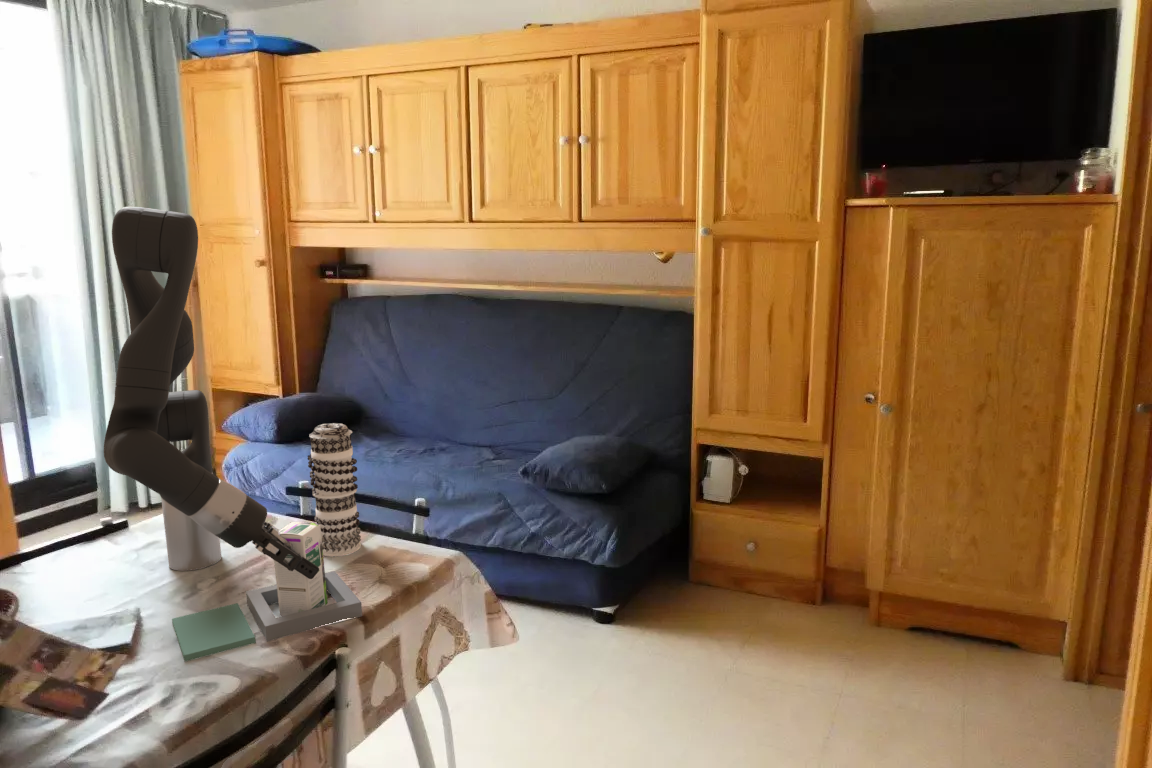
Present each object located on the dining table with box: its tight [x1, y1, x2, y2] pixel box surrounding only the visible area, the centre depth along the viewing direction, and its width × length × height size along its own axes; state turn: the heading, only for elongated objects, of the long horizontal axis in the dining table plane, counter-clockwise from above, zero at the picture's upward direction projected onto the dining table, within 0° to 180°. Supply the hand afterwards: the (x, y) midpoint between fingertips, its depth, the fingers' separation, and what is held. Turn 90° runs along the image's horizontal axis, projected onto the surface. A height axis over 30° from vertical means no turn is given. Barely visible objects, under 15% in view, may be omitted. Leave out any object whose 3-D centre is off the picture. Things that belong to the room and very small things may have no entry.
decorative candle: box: [307, 422, 362, 557], centre depth 161 cm, size 9×9×25 cm
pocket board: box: [245, 570, 363, 642], centre depth 137 cm, size 15×15×2 cm
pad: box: [171, 602, 256, 662], centre depth 130 cm, size 14×10×1 cm
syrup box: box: [273, 521, 328, 617], centre depth 136 cm, size 6×6×14 cm
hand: (308, 565), depth 136 cm, fingers closed on syrup box, 8 cm apart
